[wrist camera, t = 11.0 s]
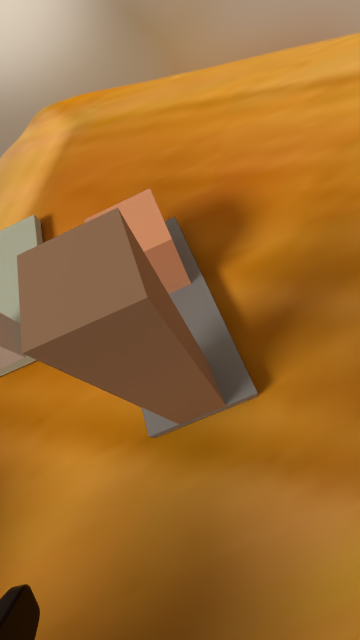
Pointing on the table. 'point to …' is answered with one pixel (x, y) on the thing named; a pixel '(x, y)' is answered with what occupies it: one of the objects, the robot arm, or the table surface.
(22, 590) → the robot arm
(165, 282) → the terracotta cube
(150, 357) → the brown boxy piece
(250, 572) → the table surface
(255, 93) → the table surface
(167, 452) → the table surface
